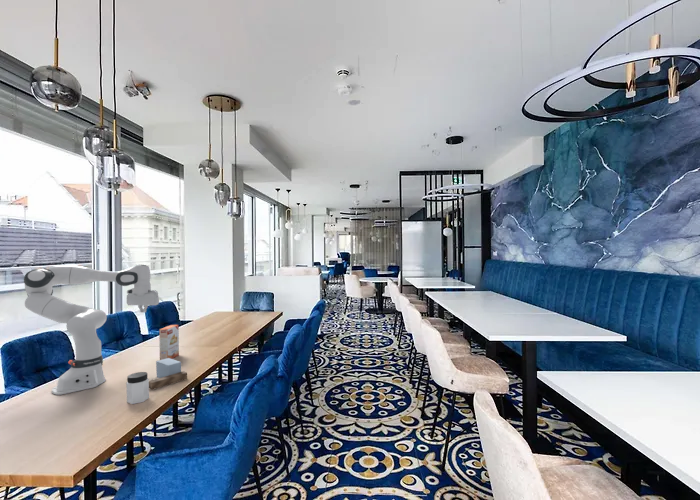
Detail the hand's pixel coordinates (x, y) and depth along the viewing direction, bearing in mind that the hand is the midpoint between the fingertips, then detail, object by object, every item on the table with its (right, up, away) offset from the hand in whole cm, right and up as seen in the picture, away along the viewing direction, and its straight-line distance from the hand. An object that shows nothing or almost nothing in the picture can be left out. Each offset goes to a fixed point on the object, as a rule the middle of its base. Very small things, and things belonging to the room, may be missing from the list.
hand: (143, 312), depth 214 cm
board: (+32, -32, -31) cm, 55 cm away
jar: (+28, -33, -51) cm, 67 cm away
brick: (+28, -33, -22) cm, 48 cm away
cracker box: (+9, -33, +14) cm, 37 cm away
